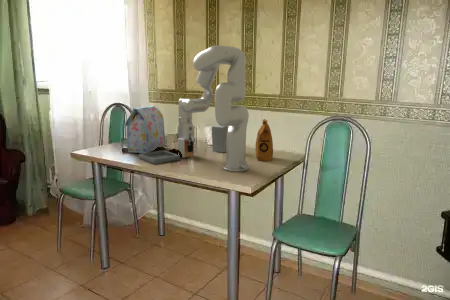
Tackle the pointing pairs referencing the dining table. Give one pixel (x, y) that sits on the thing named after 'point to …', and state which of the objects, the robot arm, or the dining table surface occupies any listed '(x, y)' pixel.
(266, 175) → the dining table surface
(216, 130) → the skincare box
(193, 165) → the dining table surface
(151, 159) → the tray
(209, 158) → the dining table surface
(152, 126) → the lunch bag
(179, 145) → the small box
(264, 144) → the coffee package
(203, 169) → the dining table surface
